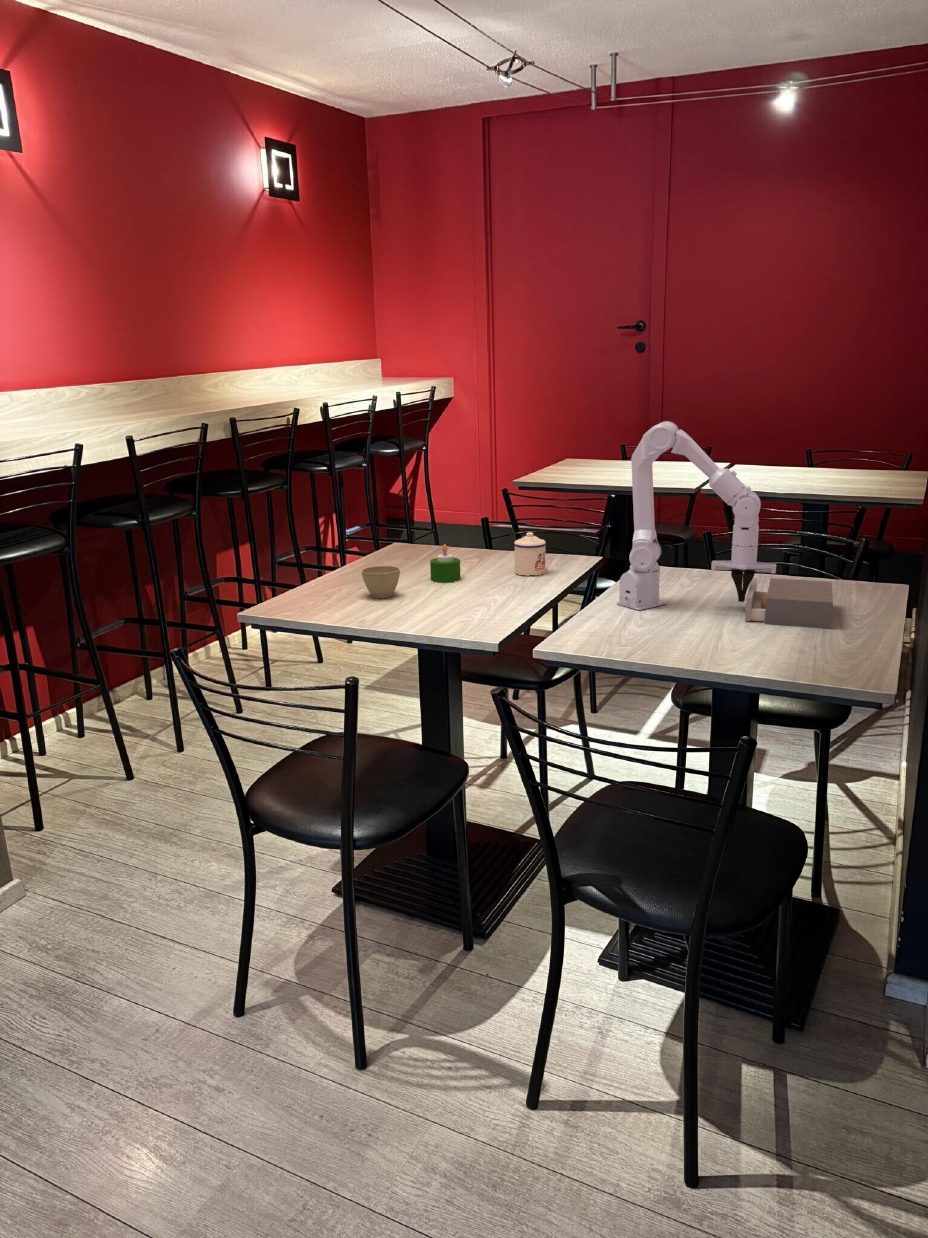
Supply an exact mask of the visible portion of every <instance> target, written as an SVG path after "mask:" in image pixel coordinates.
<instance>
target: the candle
mask: <svg viewBox="0 0 928 1238" xmlns="http://www.w3.org/2000/svg"><path fill="white" fill-rule="evenodd" d="M441 549H442V550H441V551H442V553H441V554H439V555H437V556H436V557H435V558H432V559H430V561H429V567H430V581H431V582H432V581H433V582H432V583H436V582H437V584H451V583H456V582H455V581H457V582H459V580H460V581H461V559H460V558H457V557H453V554H448V546H447V544H445V543H444V544H443V545H442V548H441Z"/></svg>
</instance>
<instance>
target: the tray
mask: <svg viewBox="0 0 928 1238" xmlns="http://www.w3.org/2000/svg"><path fill="white" fill-rule="evenodd" d="M757 587H758V578H757V577H756V578H755V577H753V579H752V581H751V583H750V585H749V587H748V590H747V593H746V596H745V614H744V615H745V616H744V622H751V621H753V622H754V621H757V622H765V610H766V609H761V597H762V594H763V593H768V591H764V590H763V591H761V590H757V589H758V588H757Z"/></svg>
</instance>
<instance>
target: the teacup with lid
mask: <svg viewBox="0 0 928 1238" xmlns="http://www.w3.org/2000/svg"><path fill="white" fill-rule="evenodd" d="M546 545H547V542H546V541H545V539H541V538H539V537H537V536H536V535H534V533H533V532H531V531H529V532H527V533H526V535H525V536H522V537H521V538H518V539H517V540H515V541H514V543H513V546H514V574H515V575H517V574H518V576H520V575H528V576H527V577H530V576H529V575H539V576H542V575H541V574H543V575H545V573H546Z"/></svg>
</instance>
